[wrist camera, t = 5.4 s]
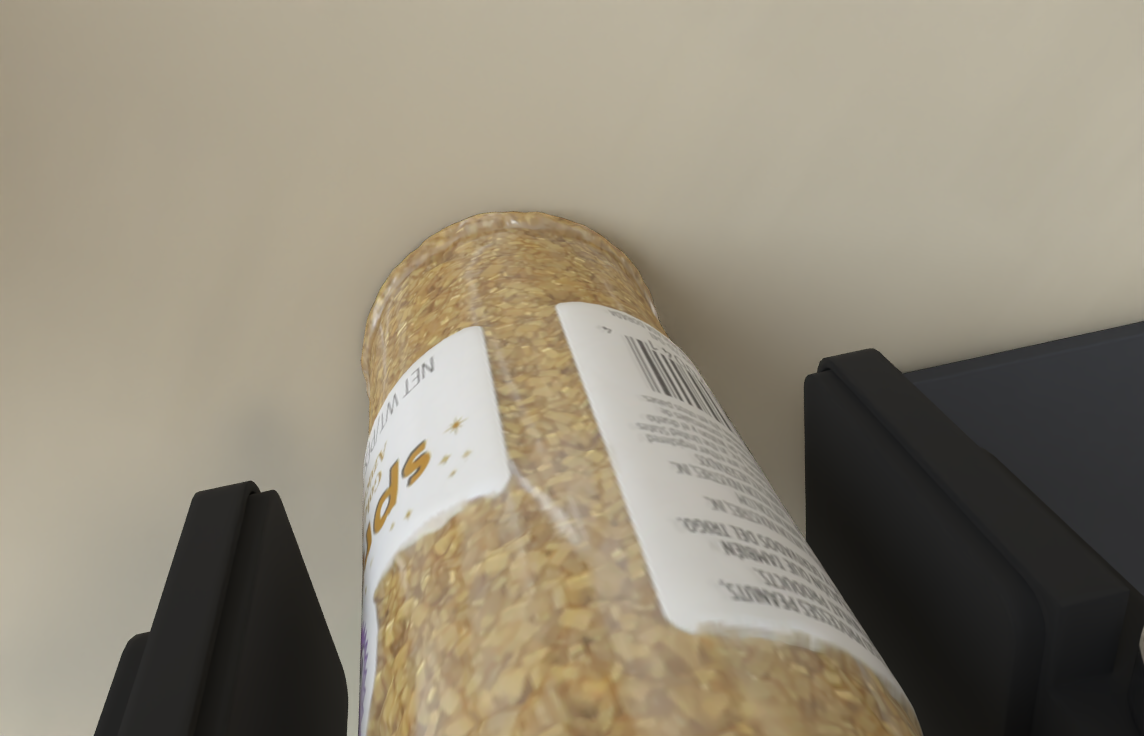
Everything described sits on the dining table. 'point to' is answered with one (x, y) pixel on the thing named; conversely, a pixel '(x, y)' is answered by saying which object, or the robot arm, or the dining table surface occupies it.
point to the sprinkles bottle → (578, 518)
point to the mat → (1063, 430)
